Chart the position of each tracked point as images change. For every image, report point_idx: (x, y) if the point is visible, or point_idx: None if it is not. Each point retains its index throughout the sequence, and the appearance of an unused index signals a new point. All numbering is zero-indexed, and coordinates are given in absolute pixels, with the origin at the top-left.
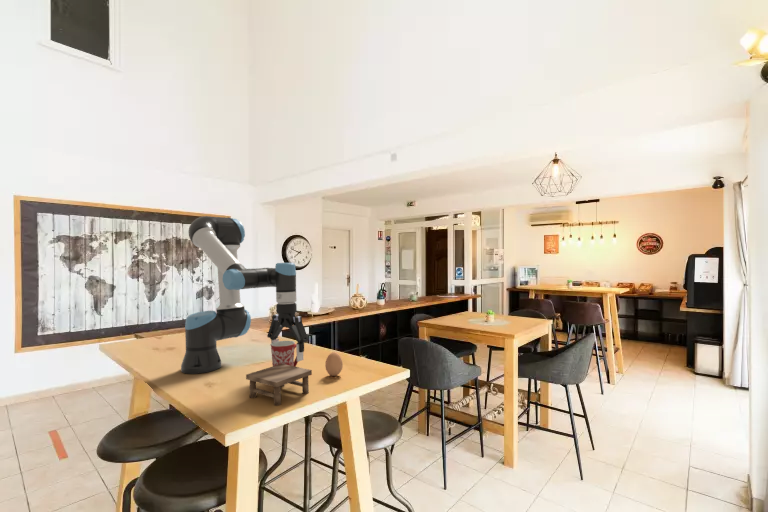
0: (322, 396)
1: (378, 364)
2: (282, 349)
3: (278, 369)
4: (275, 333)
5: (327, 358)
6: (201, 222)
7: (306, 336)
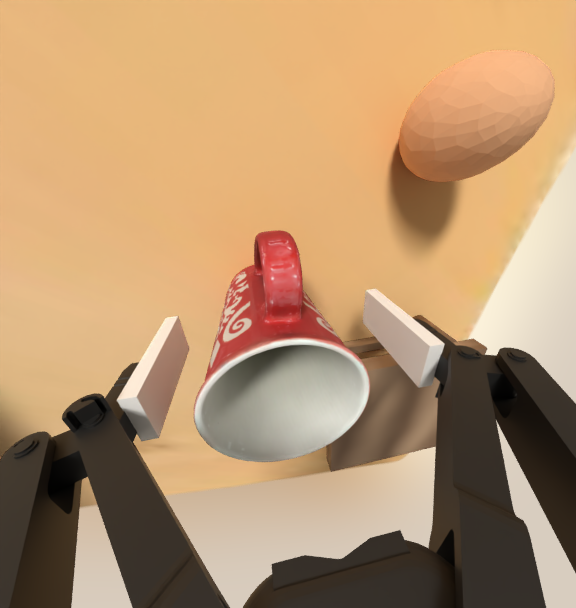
0: (469, 309)
1: None
2: (335, 413)
3: (377, 409)
4: (168, 503)
5: (467, 164)
6: None
7: (547, 384)
